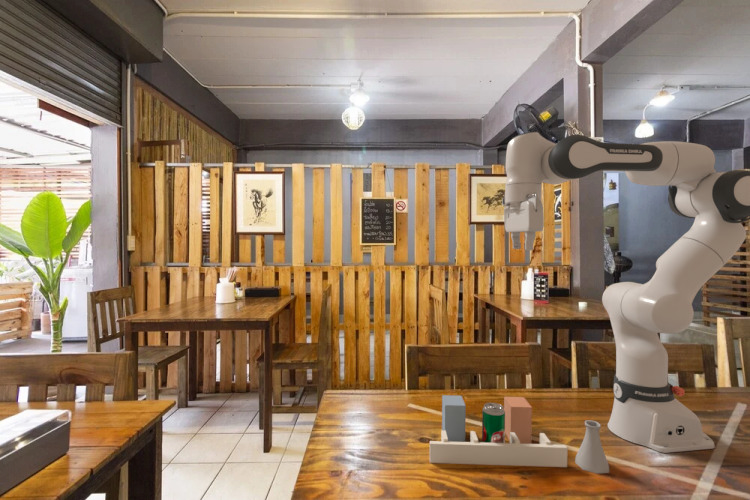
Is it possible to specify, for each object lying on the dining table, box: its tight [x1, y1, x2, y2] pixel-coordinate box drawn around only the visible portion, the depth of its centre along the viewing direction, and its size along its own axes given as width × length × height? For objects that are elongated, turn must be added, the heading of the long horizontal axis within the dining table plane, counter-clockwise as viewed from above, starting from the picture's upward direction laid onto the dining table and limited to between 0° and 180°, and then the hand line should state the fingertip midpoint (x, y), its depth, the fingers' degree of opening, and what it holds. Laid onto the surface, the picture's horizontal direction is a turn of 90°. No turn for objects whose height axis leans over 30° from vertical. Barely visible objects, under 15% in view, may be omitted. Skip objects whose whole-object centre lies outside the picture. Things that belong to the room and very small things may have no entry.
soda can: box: [481, 402, 506, 443], centre depth 90 cm, size 5×5×12 cm
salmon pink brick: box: [503, 396, 533, 444], centre depth 98 cm, size 5×7×9 cm
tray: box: [429, 429, 568, 468], centre depth 94 cm, size 30×17×6 cm, turn 87°
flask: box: [574, 419, 610, 475], centre depth 86 cm, size 7×7×10 cm
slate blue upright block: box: [441, 394, 467, 442], centre depth 99 cm, size 5×7×9 cm
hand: (522, 249), depth 101 cm, fingers open, 8 cm apart
